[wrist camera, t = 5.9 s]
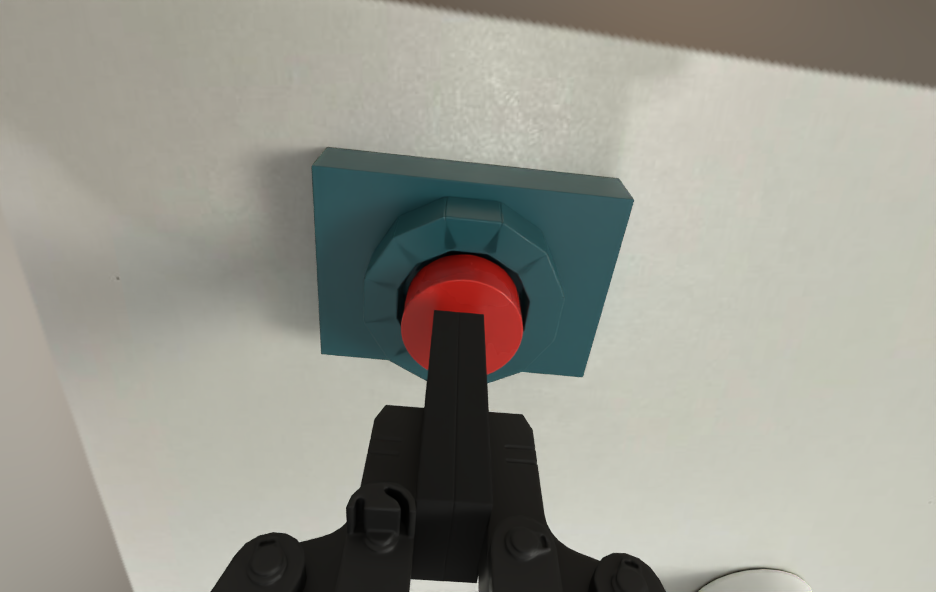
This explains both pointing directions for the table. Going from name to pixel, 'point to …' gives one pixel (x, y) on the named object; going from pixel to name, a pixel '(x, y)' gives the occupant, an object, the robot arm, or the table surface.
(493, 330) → the button
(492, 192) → the teal button base
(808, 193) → the table surface
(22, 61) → the table surface
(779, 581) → the mug
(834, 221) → the table surface
